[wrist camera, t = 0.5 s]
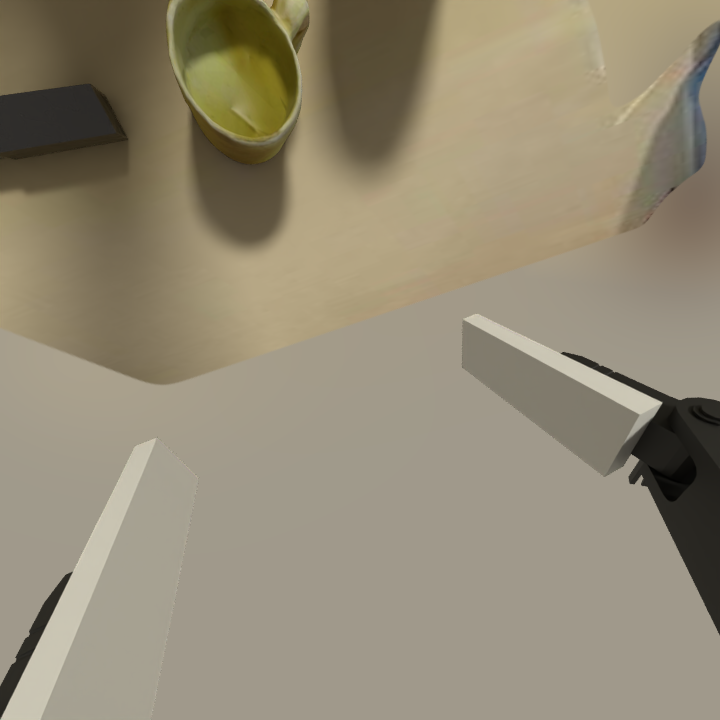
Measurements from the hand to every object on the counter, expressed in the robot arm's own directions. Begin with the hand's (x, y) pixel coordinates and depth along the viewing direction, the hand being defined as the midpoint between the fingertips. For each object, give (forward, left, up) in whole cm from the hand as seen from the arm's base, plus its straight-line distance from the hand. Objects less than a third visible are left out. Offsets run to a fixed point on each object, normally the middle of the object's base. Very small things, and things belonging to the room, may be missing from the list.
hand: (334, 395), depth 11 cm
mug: (-16, +3, -28) cm, 32 cm away
